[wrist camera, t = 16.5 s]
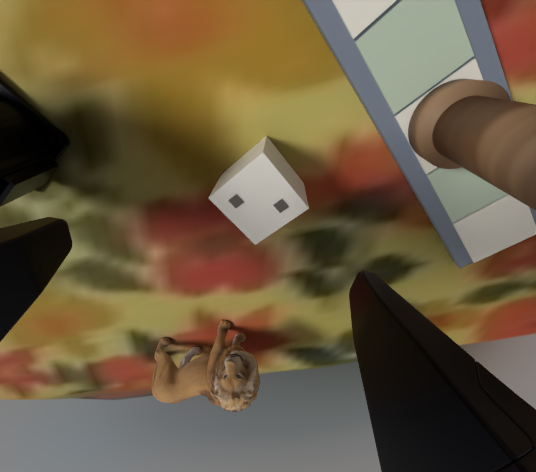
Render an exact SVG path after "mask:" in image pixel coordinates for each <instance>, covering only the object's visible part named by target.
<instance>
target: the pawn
mask: <svg viewBox="0 0 536 472" xmlns="http://www.w3.org/2000/svg"><path fill="white" fill-rule="evenodd" d="M408 139H409V143H410V145H411V147H412V149H413V150H414V152H415V153H417V154H418V155H419V156H420V157H422V158H423V159H425V160H426V161H428V162H429V163H431V164H432V165H434V166H436V167H439V168H443V169H457V168H461V167H463V168H464V169H466V170H468V171H469V172H471V173H473V174H475V175H476V176H478V177H480V178H481V179H483V180H485V181H486V182H488V183H490V184H492V185H493V186H495V187H497V188H498V189H500V190H502V191H503V192H505V193H507V194H508V195H510V196H512V197H514V198H515V199H517V200H519V201H520V202H522V203H524V204H525V205H527V206H529V207H530V208H532V209H534V210H536V105H534V104H528V103H522V102H516V101H511V99H510V96H509V94H508V92H507V91H506V90H505V89H504V88H503V87H502V86H500V85H499V84H497V83H495V82H491V81H484V80H473V79H456V80H451V81H448V82H446V83H443V84H441V85H439V86H438V87H436V88H435V89H433V90H432V91H430V92H429V93H428V94H427V95H426V96H425V97H424V98H423V99H422V100H421V101H420V103H419V104H418V105H417V107H416V109H415V110H414V112H413V114H412V116H411V119H410V122H409V127H408Z"/></svg>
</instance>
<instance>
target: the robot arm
mask: <svg viewBox="0 0 536 472" xmlns="http://www.w3.org/2000/svg"><path fill="white" fill-rule="evenodd" d="M58 138H59V139H60V140H61V142H62V143H61V142H59V140H58ZM68 145H69V140H68V138H67V137H66V136H65V135H64V134H63V133H62V132H61V131H60V130H59V129H57V128H56V127H55V126H54V125H53V124H52V123H50V122H49V121H48V120H47V119H46V118H45V117H44V116H42V115H41V114H40V113H39V112H38V111H37V110H35V109H34V108H33V107H32V106H31V105H30V104H29V103H27V102H26V101H25V100H24V99H23V98H22V97H21V96H19V95H18V94H17V93H16V92H15V91H14V90H12V89H11V88H10V87H9V86H8V85H7V84H6V83H4V82H3V81H2V80H1V79H0V207H1V206H3V205H5V204H7V203H9V202H11V201H13V200H15V199H17V198H19V197H21V196H23V195H25V194H27V193H29V192H31V191H33V190H35V189H37V188H39V187H41V186H43V185H44V184H45V183H46V181H47V180H48V179H49V177H50V176H51V175H52V174H53V172H54V171H55V170H56V168H57V167H58V163H57V162H56V161H57V159H58V158H59V157H60V156H61V154H62V153H63V152H64V150H65V149H66V148H67V146H68ZM71 248H72V239H71V236H70V232H69V228H68V224H67V222H66V221H65V220H63V219H58V218H53V217H46V218H42V219H38V220H34V221H29V222H25V223H21V224H17V225H13V226H8V227H4V228H0V342H1V340H2V339H3V338H4V337H5V336H6V334H7V333H8V332H9V331H10V330H11V329H12V327H13V326H14V325H15V324H16V323H17V321H18V320H19V319H20V318H21V317H22V315H23V314H24V313H25V312H26V311H27V310H28V308H29V307H30V306H31V305H32V304H33V302H34V301H35V300H36V299H37V298H38V296H39V295H40V294H41V293H42V291H43V290H44V289H45V287H46V286H47V284H48V283H49V281H50V280H51V279H52V277H53V276H54V274H55V273H56V271H57V270H58V268H59V267H60V265H61V264H62V262H63V261H64V259H65V258H66V256H67V255H68V254H69V252H70V250H71ZM349 299H350V309H351V319H352V330H353V338H354V344H355V349H356V354H357V359H358V363H359V368H360V373H361V377H362V382H363V386H364V391H365V396H366V400H367V405H368V410H369V414H370V419H371V424H372V429H373V433H374V438H375V443H376V447H377V452H378V457H379V461H380V466H381V470H382V472H536V410H535V409H534V408H533V407H532V406H531V405H529V404H528V403H527V402H526V401H524V400H523V399H522V398H520V397H519V396H518V395H516V394H515V393H514V392H513V391H512V390H511V389H509V388H508V387H507V386H506V385H505V384H503V383H502V382H501V381H500V380H499V379H497V378H496V377H495V376H494V375H493V374H491V373H490V372H489V371H488V370H487V369H486V368H484V367H483V366H482V365H481V364H480V363H479V362H475V359H474V358H472V357H471V356H470V355H469V354H468V353H467V352H466V351H464V350H463V349H462V348H461V347H460V346H459V345H457V344H456V343H455V342H454V341H453V340H452V339H450V338H449V337H448V336H447V335H446V334H445V333H443V332H442V331H441V330H440V329H439V328H438V327H436V326H435V325H434V324H433V323H432V322H431V321H429V320H428V319H427V318H426V317H425V316H423V315H422V314H421V313H420V312H419V311H418V310H416V309H415V308H414V307H413V306H412V305H411V304H409V303H408V302H407V301H406V300H405V299H404V298H402V297H401V296H400V295H399V294H398V293H397V292H395V291H394V290H393V289H392V288H391V287H390V286H388V285H387V284H386V283H385V282H384V281H383V280H381V279H380V278H379V277H378V276H377V275H376V274H374V273H372V272H367V271H360V272H359V273H358V274H357V276H356V278H355V280H354V282H353V284H352V287H351V289H350V293H349Z"/></svg>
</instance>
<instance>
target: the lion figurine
mask: <svg viewBox="0 0 536 472" xmlns="http://www.w3.org/2000/svg"><path fill="white" fill-rule="evenodd" d="M230 326H231V324H230V322H229V321H226V320H222V321H221V322H220V324H219V327H218V334H217V338H216V340H215V343H214V345H213V348H212V350H211V352H210V355H207V356H202V357H199V358H196V359H194V360H192V361H190V360H191V358H192V357H193V356H194V355H200V354H201V353H202V349H201V348H200V347H193V348H192V349H191V350H190V351H189V352H188V353H187V354H186V355H185V356H184V357H183V358H181V362H180V366H179V368H177V367H176V365H175V364H174V362H173V360H172V359H171V357H170V356H169V355H168V354H166V353H165V352H164V351H163V349H164V348H165V347H166V346H169V345H170V339H168V338H166V337H164V338H161V339H160V341H159V344H158V346H157V350H156V352H155V359H156V361H157V365H156V368H155V371H154V375H153V380H152V392H153V395H154V396H155V398H156V399H158V400H159V401H161V402H168V403H178V402H180V401H183V400H185V399H187V398H190V397H193V396H197V395H204V396H206V397H207V398H208V399H209V401H210V402H211V403H212V404H214V405H219V406H221V407H222V408H224V410H228V411H234V412H236V411H241V410H243V409H245V408H247V407H249V406H250V405H251V402H252V401H253V400H255V399H256V398H257V392H258V389H259V385H260V377H259V372H258V364H257V360H256V358H255V356H254V355H253V354H251V353H248V352H246V351H245V350H244V349H243V348H242V347H241V346H240V342H243V341H244V340H245V339H246V335H245V334H244V333H238V334H236V335H235V337H234V340H233V342H232V346H230V347H225V337H226V334H227V331H228V329H229V328H230Z"/></svg>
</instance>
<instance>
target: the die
mask: <svg viewBox="0 0 536 472" xmlns="http://www.w3.org/2000/svg"><path fill="white" fill-rule="evenodd" d="M208 199H209V200H210V201H211V202H213V203H214V204H215V205H216V206H217V207H218V208H219V209H220V210H221V211H222V212H223V213H224V214H225V215H226V216H227V217H228V218H229V219H230V220H231V221H232V222H233V223H234V224H235V225H236V226H237V227H238V228H239V229H240V230H241V231H242V232H243V233H244V234H245V235H246V236H247V237H248V238H249V239H250V240H251V241H252V242H253V243H254V244H255V245H256V244H258V243H259V242H260V241H262V240H263V239H265V238H266V237H268V236H269V235H271V234H272V233H274V232H275V231H277V230H278V229H280V228H281V227H283V226H284V225H286V224H287V223H288V222H290V221H291V220H293V219H294V218H296V217H297V216H299V215H300V214H302V213H303V212H305V211H306V210H308V209H309V206H308V201H307V196H306V191H305V186H304V183H303V181H302V180H301V179H300V178H299V176H298V175H297V174H296V172H295V171H294V170H293V169H292V167H291V166H290V165H289V164H288V162H287V161H286V160H285V158H284V157H283V156H282V155H281V153H280V152H279V151H278V150H277V148H276V147H275V146H274V144H273V143H272V142H271V141H270V139H269V138H268V137H267V136H265V137H264V138H263V139H262V140H261V141H260V142H258V143H257V144H256V145H255V146H254V147H253V148H251V149H250V150H249V151H248V152H247V153H246V154H245V155H243V156H242V157H241V158H240V159H239V160H238V161H236V162H235V163H234V164H233V165H232V166H231V167H229V168H228V169H227V170H226V171H225V172H224V173H222V174H221V176H220V178H219V180H218V181H217V183H216V185H215V187H214V189H213V190H212V192H211V194H210V196H209V198H208Z"/></svg>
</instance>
